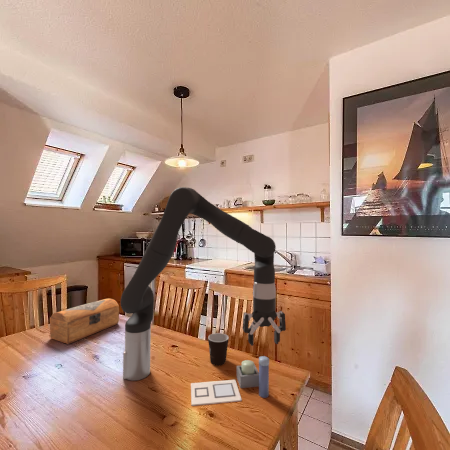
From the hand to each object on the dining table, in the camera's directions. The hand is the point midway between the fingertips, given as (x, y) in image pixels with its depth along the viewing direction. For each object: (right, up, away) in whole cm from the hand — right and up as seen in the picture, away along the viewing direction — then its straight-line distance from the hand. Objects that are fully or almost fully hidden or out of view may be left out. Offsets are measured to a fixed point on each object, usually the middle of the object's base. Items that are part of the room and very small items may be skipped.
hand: (264, 343), depth 85 cm
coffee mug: (-16, -17, +22) cm, 32 cm away
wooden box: (-87, -17, +52) cm, 103 cm away
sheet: (-16, -17, +1) cm, 24 cm away
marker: (0, -17, 0) cm, 17 cm away
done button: (-5, -15, +7) cm, 17 cm away
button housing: (-5, -17, +7) cm, 19 cm away
